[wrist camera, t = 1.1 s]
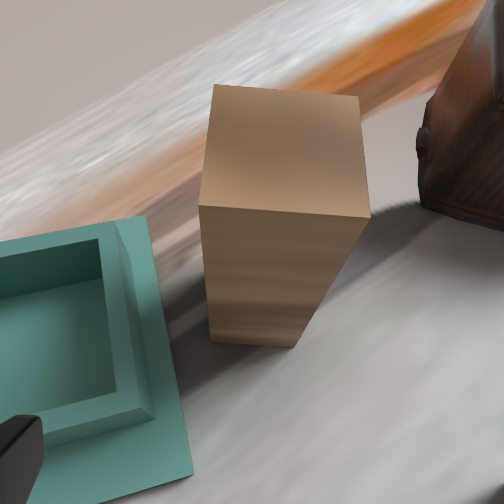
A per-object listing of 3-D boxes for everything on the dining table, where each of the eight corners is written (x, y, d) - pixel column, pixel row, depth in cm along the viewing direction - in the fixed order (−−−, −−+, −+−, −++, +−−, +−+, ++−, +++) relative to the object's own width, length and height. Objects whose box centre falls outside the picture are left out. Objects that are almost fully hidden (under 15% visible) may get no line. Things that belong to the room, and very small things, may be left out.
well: (194, 474, 19) (185, 475, 15) (-67, 554, 17) (-167, 583, 13) (147, 223, 25) (131, 171, 21) (-49, 261, 23) (-113, 213, 19)
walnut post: (293, 347, 22) (371, 217, 11) (210, 342, 22) (198, 204, 11) (293, 272, 24) (358, 96, 13) (217, 266, 24) (214, 84, 13)
